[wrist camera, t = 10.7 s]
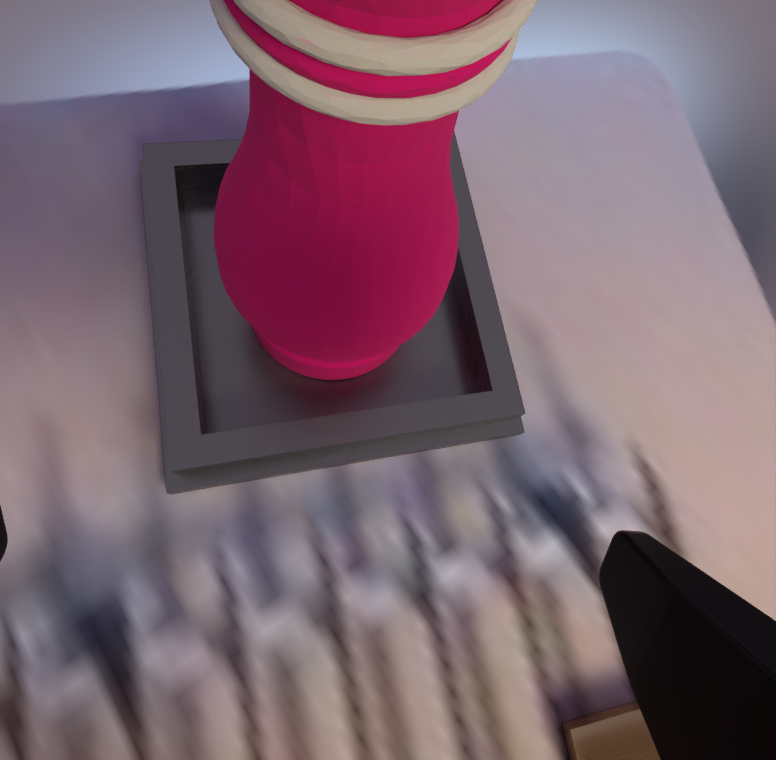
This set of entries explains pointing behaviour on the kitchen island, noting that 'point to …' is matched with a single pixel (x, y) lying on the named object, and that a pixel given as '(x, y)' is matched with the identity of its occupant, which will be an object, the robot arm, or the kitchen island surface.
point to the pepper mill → (350, 168)
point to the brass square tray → (610, 736)
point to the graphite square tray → (288, 388)
